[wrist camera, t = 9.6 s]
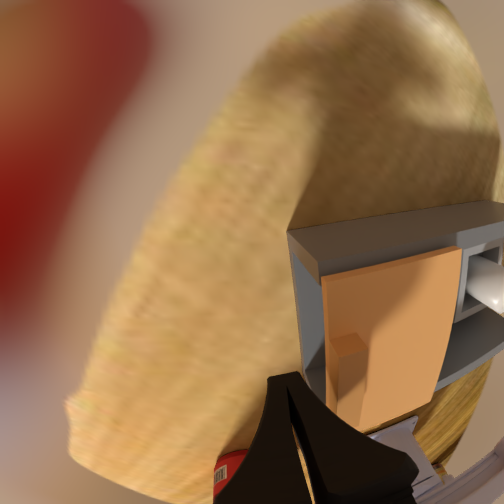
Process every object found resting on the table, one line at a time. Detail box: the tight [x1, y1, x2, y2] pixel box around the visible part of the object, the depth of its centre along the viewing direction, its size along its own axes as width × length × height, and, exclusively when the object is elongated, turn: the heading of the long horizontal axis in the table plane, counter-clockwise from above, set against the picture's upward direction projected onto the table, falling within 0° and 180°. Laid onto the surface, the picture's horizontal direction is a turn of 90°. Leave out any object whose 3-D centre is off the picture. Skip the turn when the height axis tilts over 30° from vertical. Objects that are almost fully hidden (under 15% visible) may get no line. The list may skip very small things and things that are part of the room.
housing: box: [286, 200, 504, 405], centre depth 15 cm, size 11×19×6 cm, turn 99°
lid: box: [321, 246, 462, 431], centre depth 10 cm, size 10×7×2 cm
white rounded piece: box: [465, 254, 504, 313], centre depth 15 cm, size 3×3×5 cm
